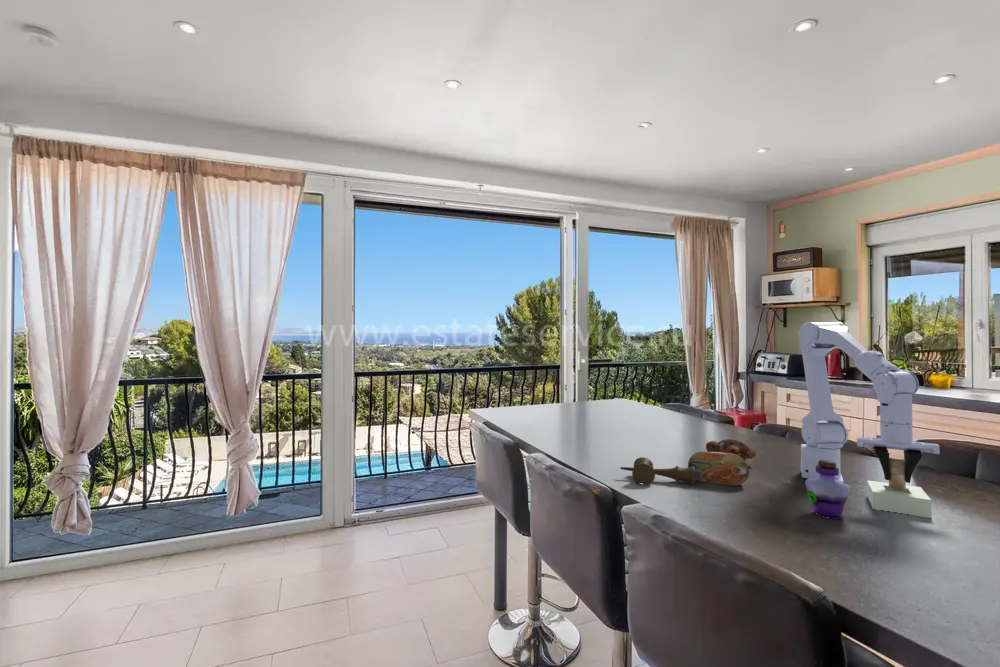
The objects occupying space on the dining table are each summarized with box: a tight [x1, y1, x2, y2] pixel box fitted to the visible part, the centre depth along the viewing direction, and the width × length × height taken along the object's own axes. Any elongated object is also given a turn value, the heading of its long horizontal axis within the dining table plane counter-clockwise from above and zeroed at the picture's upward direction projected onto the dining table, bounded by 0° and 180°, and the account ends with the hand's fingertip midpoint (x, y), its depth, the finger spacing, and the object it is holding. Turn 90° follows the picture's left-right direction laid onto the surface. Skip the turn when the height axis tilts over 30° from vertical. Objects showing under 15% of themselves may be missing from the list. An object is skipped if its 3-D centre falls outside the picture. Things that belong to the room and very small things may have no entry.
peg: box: [888, 456, 907, 491], centre depth 107 cm, size 3×3×7 cm
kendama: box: [619, 456, 697, 486], centre depth 128 cm, size 6×10×20 cm
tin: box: [687, 450, 750, 486], centre depth 126 cm, size 15×3×8 cm, turn 64°
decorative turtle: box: [705, 439, 757, 462], centre depth 142 cm, size 10×15×8 cm, turn 96°
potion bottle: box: [804, 460, 851, 518], centre depth 103 cm, size 9×9×12 cm
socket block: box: [866, 479, 933, 519], centre depth 107 cm, size 10×10×4 cm
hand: (897, 480), depth 107 cm, fingers closed on peg, 3 cm apart
